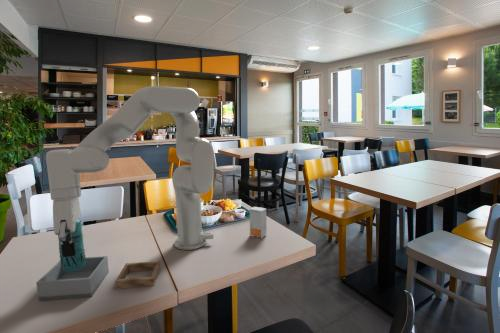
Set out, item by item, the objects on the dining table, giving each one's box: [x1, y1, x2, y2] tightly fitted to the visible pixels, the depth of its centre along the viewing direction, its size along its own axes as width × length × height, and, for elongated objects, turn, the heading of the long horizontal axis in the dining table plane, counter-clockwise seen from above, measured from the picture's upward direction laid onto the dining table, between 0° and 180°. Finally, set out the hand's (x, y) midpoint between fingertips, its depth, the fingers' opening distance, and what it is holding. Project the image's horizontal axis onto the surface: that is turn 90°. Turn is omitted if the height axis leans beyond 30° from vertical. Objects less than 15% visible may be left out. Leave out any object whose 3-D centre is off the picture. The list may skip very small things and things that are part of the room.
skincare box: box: [249, 206, 267, 239], centre depth 126 cm, size 6×4×12 cm
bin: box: [36, 255, 110, 302], centre depth 91 cm, size 14×14×6 cm
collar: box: [114, 260, 161, 290], centre depth 95 cm, size 11×11×2 cm
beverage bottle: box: [57, 218, 86, 272], centre depth 89 cm, size 6×7×20 cm
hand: (72, 250), depth 89 cm, fingers closed on beverage bottle, 6 cm apart
